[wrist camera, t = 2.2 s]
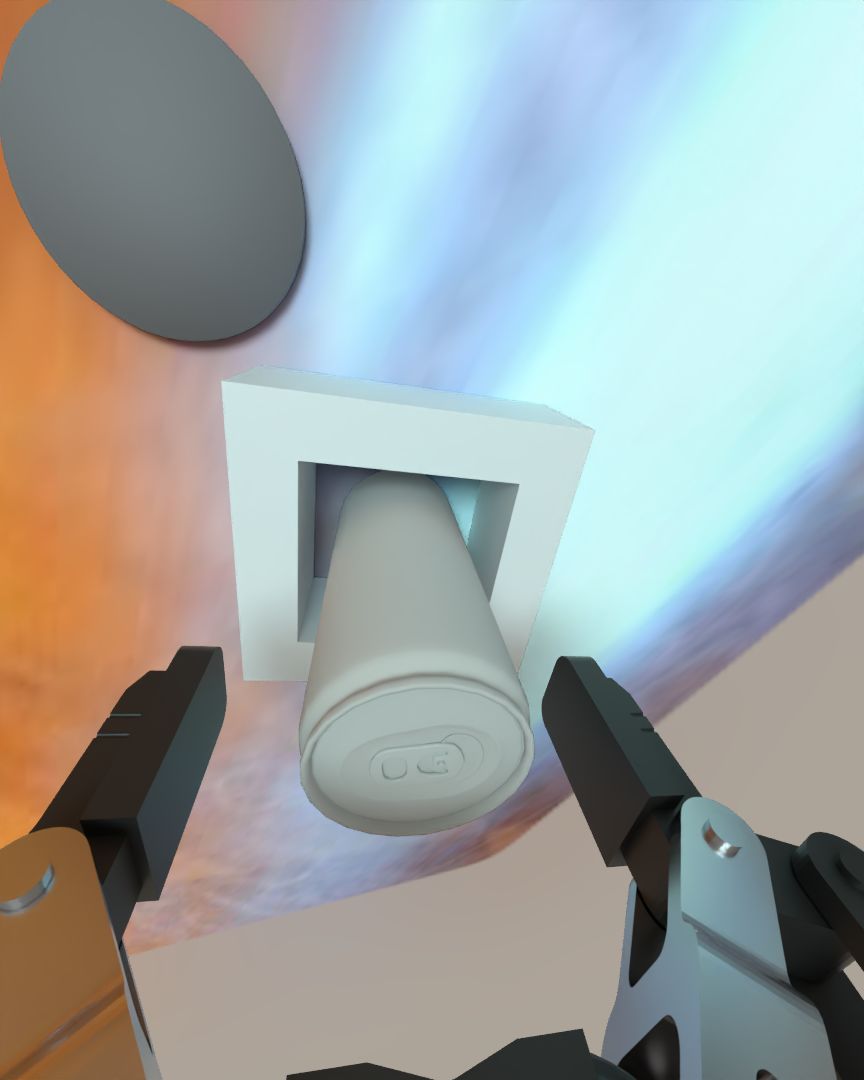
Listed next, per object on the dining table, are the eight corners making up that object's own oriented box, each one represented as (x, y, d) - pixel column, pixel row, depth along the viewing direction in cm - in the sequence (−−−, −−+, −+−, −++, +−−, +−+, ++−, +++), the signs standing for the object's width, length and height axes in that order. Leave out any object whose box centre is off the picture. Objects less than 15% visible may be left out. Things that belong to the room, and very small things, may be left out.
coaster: (307, 48, 12) (304, 35, 11) (304, 356, 15) (301, 358, 15) (-27, -41, 10) (-48, -61, 10) (55, 320, 14) (43, 320, 13)
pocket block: (544, 404, 17) (595, 430, 13) (489, 619, 22) (513, 685, 18) (262, 365, 15) (221, 380, 11) (269, 609, 20) (243, 680, 16)
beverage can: (449, 558, 20) (531, 824, 9) (347, 565, 20) (312, 854, 9) (449, 459, 18) (556, 664, 7) (334, 465, 17) (266, 694, 7)
